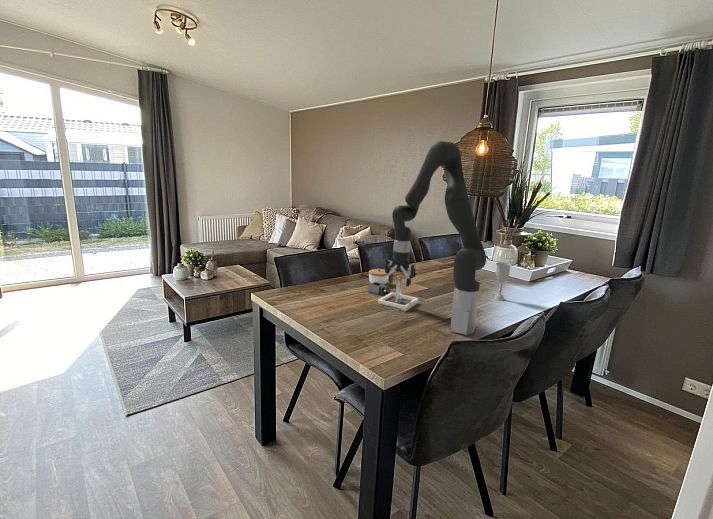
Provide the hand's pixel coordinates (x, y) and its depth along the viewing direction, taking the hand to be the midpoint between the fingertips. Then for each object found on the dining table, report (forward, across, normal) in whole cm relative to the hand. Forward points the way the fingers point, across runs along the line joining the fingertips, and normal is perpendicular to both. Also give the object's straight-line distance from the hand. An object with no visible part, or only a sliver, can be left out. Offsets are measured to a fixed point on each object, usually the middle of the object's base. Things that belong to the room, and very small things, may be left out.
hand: (399, 284), depth 174 cm
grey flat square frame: (+10, 0, 0) cm, 10 cm away
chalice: (+10, +38, +38) cm, 54 cm away
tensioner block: (+10, -14, +7) cm, 18 cm away
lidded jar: (+10, -22, +20) cm, 31 cm away
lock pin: (+9, 0, 0) cm, 9 cm away
